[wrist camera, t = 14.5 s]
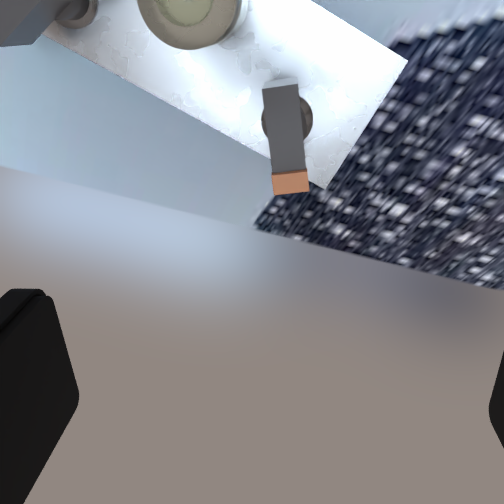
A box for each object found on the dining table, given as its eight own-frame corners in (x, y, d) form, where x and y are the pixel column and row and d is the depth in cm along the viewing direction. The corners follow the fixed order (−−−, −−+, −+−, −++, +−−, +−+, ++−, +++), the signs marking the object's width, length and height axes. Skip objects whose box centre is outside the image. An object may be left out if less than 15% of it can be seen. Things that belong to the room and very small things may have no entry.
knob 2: (262, 77, 30) (255, 90, 24) (301, 71, 30) (303, 83, 24) (273, 165, 33) (269, 195, 27) (309, 160, 32) (313, 190, 26)
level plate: (-1, 4, 31) (-105, -3, 23) (37, -168, 26) (-76, -251, 18) (323, 182, 35) (333, 231, 27) (403, 59, 30) (443, 72, 22)
